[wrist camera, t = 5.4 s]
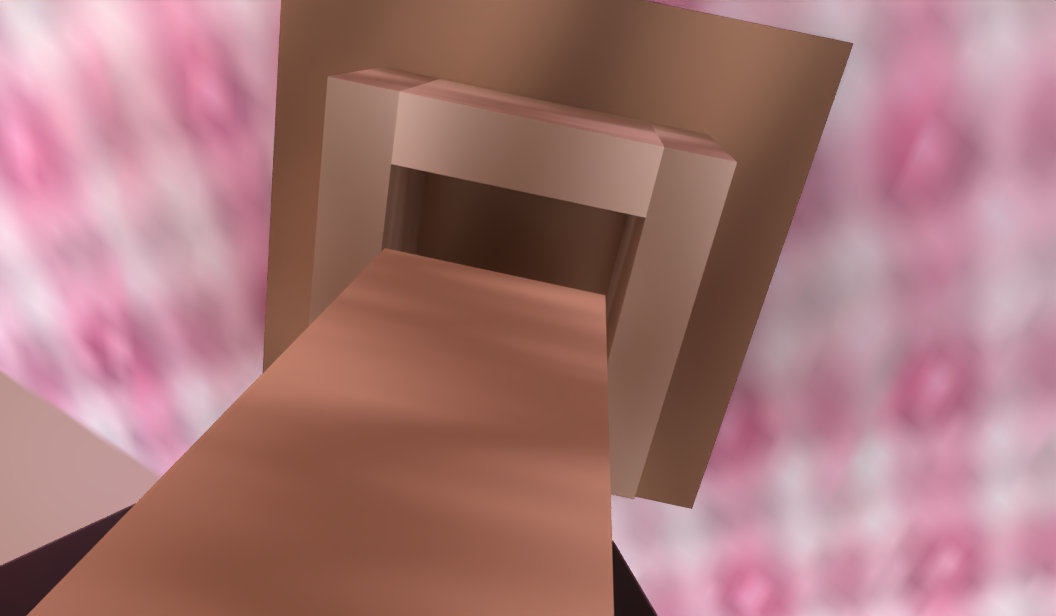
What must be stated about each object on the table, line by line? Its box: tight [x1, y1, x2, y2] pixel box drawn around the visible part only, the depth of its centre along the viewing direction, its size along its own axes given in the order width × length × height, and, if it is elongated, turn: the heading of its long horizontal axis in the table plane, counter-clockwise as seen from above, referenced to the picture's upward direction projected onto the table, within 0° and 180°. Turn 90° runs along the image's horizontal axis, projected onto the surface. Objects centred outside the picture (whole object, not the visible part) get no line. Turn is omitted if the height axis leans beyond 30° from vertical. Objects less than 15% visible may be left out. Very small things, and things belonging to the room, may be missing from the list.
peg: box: [27, 248, 614, 616], centre depth 9 cm, size 4×4×10 cm
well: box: [263, 0, 853, 509], centre depth 18 cm, size 14×14×5 cm
